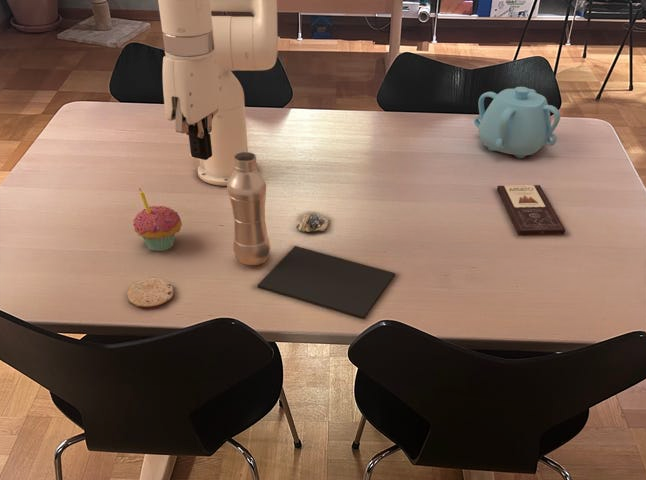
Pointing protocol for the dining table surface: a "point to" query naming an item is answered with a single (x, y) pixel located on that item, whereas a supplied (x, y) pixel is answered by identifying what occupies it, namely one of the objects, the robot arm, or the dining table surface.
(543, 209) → the chocolate bar
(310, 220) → the mineral rock
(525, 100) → the decorative pot
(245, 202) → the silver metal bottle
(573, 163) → the dining table surface
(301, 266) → the mat
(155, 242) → the cupcake
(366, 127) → the dining table surface
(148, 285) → the flatbread
